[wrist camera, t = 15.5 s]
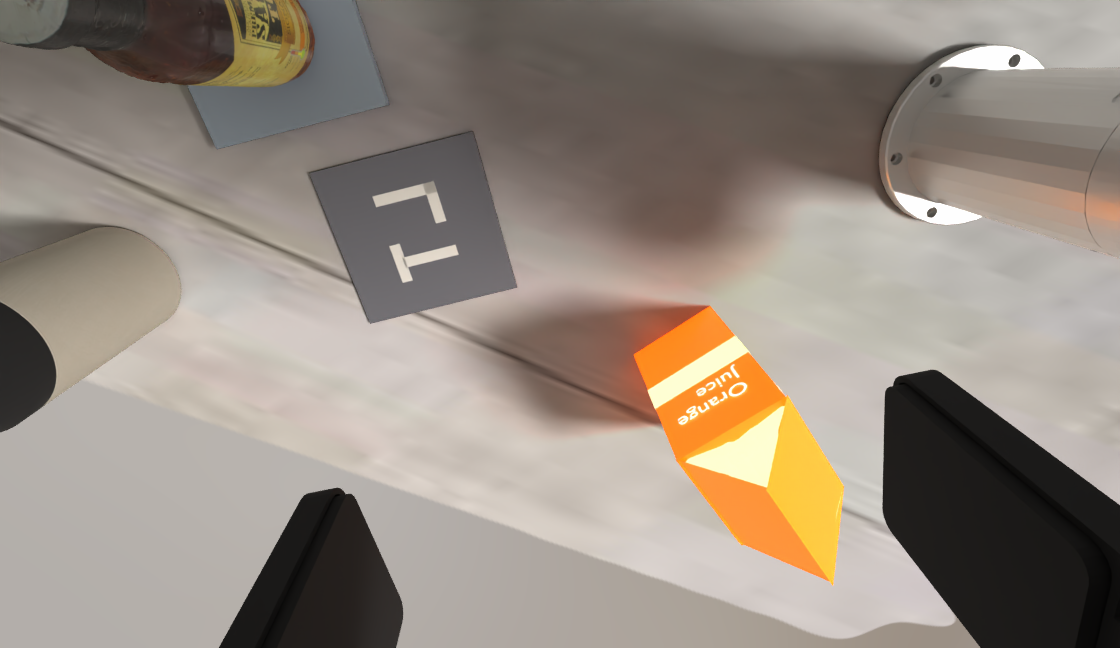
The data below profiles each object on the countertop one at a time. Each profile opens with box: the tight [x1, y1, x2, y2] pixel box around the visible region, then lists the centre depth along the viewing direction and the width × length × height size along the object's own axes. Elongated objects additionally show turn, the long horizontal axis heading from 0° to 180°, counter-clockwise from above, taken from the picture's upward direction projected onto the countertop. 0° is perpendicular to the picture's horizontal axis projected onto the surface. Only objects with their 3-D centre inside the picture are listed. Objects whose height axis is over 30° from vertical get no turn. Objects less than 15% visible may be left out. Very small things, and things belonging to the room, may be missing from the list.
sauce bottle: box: [0, 0, 315, 87], centre depth 27 cm, size 7×6×20 cm
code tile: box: [309, 131, 517, 324], centre depth 43 cm, size 12×12×1 cm
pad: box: [187, 0, 390, 149], centre depth 37 cm, size 12×12×1 cm
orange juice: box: [634, 306, 844, 585], centre depth 40 cm, size 8×9×20 cm
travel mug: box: [0, 227, 181, 432], centre depth 35 cm, size 8×8×18 cm
